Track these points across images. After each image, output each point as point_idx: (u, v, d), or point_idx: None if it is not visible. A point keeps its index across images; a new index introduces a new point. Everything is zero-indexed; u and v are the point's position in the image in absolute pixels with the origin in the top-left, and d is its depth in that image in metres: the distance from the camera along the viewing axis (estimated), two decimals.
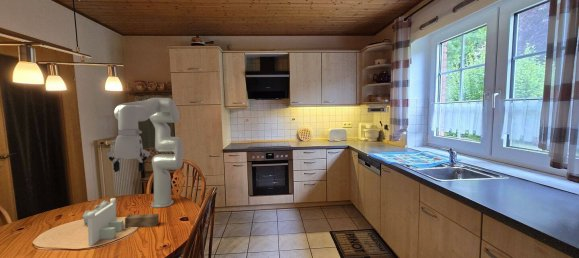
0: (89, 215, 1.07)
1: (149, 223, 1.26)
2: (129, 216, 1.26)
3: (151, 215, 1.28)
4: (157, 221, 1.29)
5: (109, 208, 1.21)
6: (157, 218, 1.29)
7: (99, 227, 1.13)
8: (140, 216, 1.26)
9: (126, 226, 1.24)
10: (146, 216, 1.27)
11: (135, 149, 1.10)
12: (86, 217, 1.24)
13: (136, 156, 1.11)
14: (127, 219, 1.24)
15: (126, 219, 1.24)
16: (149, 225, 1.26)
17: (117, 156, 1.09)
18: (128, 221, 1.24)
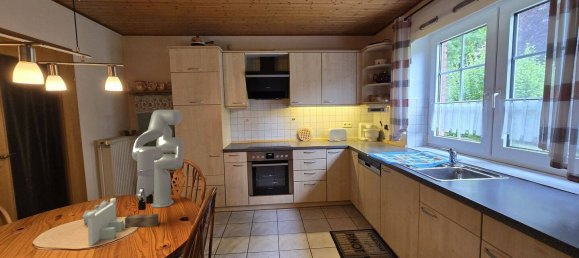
0: (89, 215, 1.07)
1: (149, 223, 1.26)
2: (129, 216, 1.26)
3: (151, 215, 1.28)
4: (157, 221, 1.29)
5: (109, 208, 1.21)
6: (157, 218, 1.29)
7: (99, 227, 1.13)
8: (140, 216, 1.26)
9: (126, 226, 1.24)
10: (146, 216, 1.27)
11: (153, 184, 1.30)
12: (86, 217, 1.24)
13: None
14: (127, 219, 1.24)
15: (126, 219, 1.24)
16: (149, 225, 1.26)
17: (147, 194, 1.23)
18: (128, 221, 1.24)
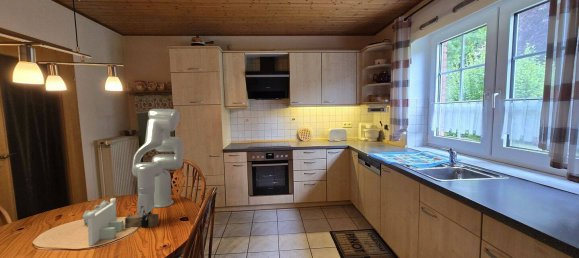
0: (89, 215, 1.07)
1: (149, 223, 1.26)
2: (129, 216, 1.26)
3: (151, 215, 1.28)
4: (157, 221, 1.29)
5: (109, 208, 1.21)
6: (157, 218, 1.29)
7: (99, 227, 1.13)
8: None
9: (126, 226, 1.24)
10: None
11: (153, 200, 1.31)
12: (86, 217, 1.24)
13: (153, 206, 1.31)
14: (127, 219, 1.24)
15: (126, 219, 1.24)
16: (149, 225, 1.26)
17: (148, 211, 1.24)
18: (128, 221, 1.24)
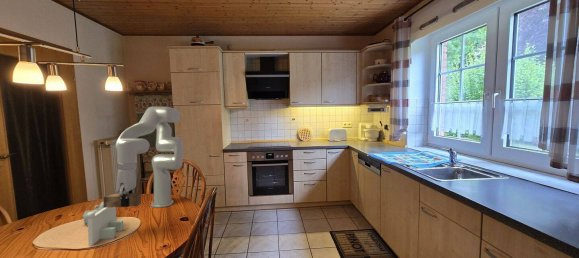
0: (89, 215, 1.07)
1: (129, 203, 1.16)
2: (108, 195, 1.17)
3: (132, 194, 1.18)
4: (139, 201, 1.19)
5: (109, 208, 1.21)
6: (139, 197, 1.19)
7: (99, 227, 1.13)
8: None
9: (105, 205, 1.15)
10: None
11: (135, 179, 1.21)
12: (86, 217, 1.24)
13: (135, 185, 1.22)
14: (105, 198, 1.14)
15: (105, 198, 1.14)
16: (130, 205, 1.16)
17: (128, 189, 1.14)
18: (107, 200, 1.15)
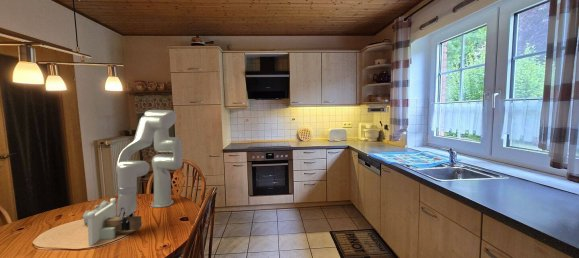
0: (89, 215, 1.07)
1: (130, 226, 1.17)
2: (109, 218, 1.17)
3: (133, 217, 1.19)
4: (139, 224, 1.20)
5: (109, 208, 1.21)
6: (140, 220, 1.20)
7: (99, 227, 1.13)
8: None
9: None
10: None
11: (136, 202, 1.22)
12: (86, 217, 1.24)
13: None
14: (106, 222, 1.15)
15: (105, 222, 1.15)
16: (130, 228, 1.17)
17: (129, 214, 1.15)
18: (107, 224, 1.15)
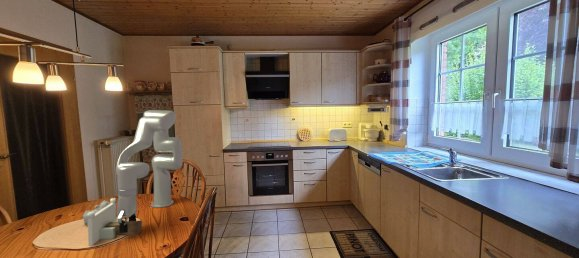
0: (89, 215, 1.07)
1: (131, 231, 1.17)
2: (110, 223, 1.18)
3: (133, 222, 1.20)
4: (140, 228, 1.20)
5: (109, 208, 1.21)
6: (140, 225, 1.20)
7: (99, 227, 1.13)
8: None
9: None
10: (128, 223, 1.18)
11: (136, 203, 1.22)
12: (86, 217, 1.24)
13: (136, 210, 1.23)
14: None
15: (106, 227, 1.16)
16: (131, 233, 1.18)
17: (129, 215, 1.15)
18: None
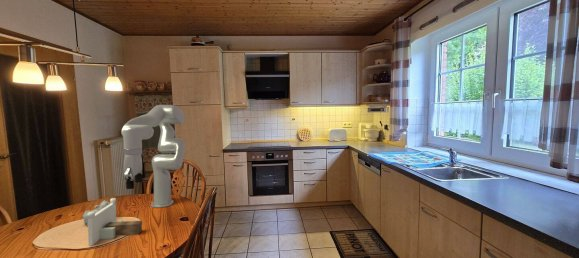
0: (89, 215, 1.07)
1: (131, 231, 1.17)
2: (110, 223, 1.18)
3: (133, 222, 1.20)
4: (140, 228, 1.20)
5: (109, 208, 1.21)
6: (140, 225, 1.20)
7: (99, 227, 1.13)
8: (121, 223, 1.18)
9: None
10: (128, 223, 1.18)
11: (141, 163, 1.28)
12: (86, 217, 1.24)
13: (141, 169, 1.28)
14: None
15: (106, 227, 1.16)
16: (131, 233, 1.18)
17: (135, 173, 1.21)
18: None
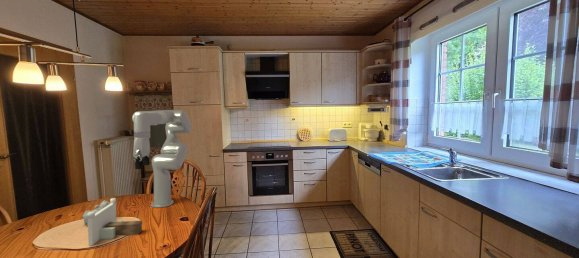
0: (89, 215, 1.07)
1: (131, 231, 1.17)
2: (110, 223, 1.18)
3: (133, 222, 1.20)
4: (140, 228, 1.20)
5: (109, 208, 1.21)
6: (140, 225, 1.20)
7: (99, 227, 1.13)
8: (121, 223, 1.18)
9: None
10: (128, 223, 1.18)
11: (149, 147, 1.38)
12: (86, 217, 1.24)
13: (149, 153, 1.38)
14: None
15: (106, 227, 1.16)
16: (131, 233, 1.18)
17: (143, 155, 1.31)
18: None
